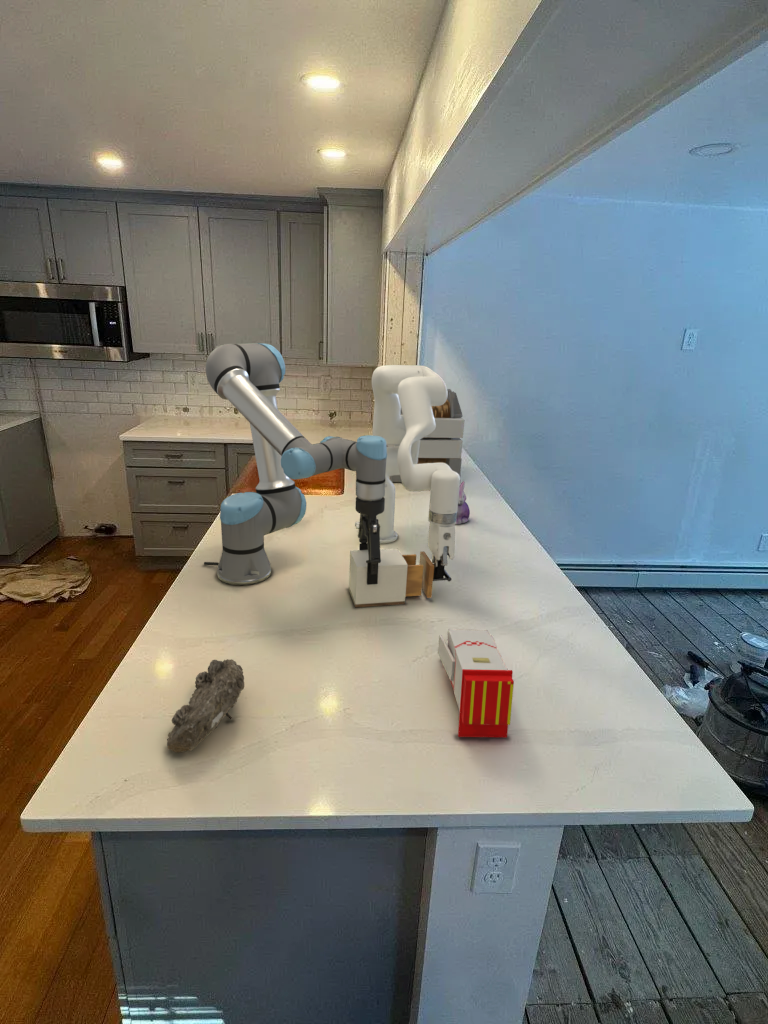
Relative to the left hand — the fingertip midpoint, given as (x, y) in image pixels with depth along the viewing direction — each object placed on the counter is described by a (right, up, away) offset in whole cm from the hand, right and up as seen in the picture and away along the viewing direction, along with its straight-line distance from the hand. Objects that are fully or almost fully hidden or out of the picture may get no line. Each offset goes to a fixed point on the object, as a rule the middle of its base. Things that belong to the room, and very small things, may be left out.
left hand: (367, 574), depth 153 cm
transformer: (+22, +36, +122) cm, 129 cm away
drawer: (+13, -5, +5) cm, 15 cm away
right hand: (+19, -1, +5) cm, 20 cm away
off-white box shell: (+2, -6, +3) cm, 7 cm away
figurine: (+33, +13, +62) cm, 71 cm away
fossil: (-28, -22, -45) cm, 58 cm away
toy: (+22, -21, -34) cm, 46 cm away
